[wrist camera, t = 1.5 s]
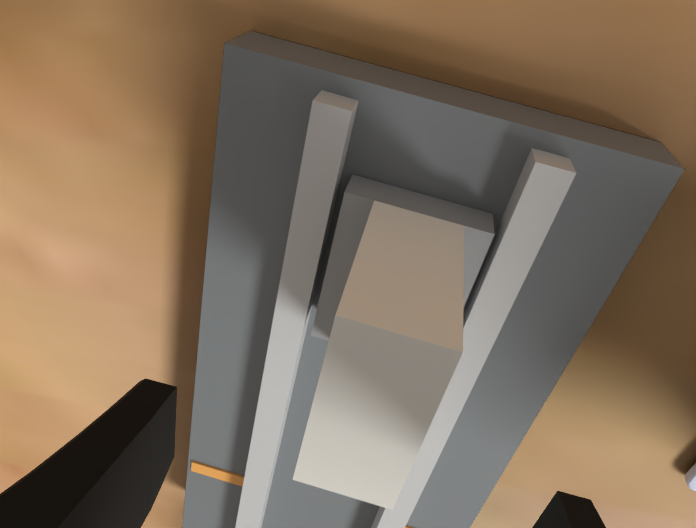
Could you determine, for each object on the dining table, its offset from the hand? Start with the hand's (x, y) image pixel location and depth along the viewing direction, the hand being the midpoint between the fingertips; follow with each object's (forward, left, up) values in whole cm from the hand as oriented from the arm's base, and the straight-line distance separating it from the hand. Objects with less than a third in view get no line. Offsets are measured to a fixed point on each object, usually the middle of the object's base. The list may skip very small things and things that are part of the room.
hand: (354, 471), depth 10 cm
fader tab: (0, 0, -7) cm, 7 cm away
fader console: (0, +7, -10) cm, 12 cm away
